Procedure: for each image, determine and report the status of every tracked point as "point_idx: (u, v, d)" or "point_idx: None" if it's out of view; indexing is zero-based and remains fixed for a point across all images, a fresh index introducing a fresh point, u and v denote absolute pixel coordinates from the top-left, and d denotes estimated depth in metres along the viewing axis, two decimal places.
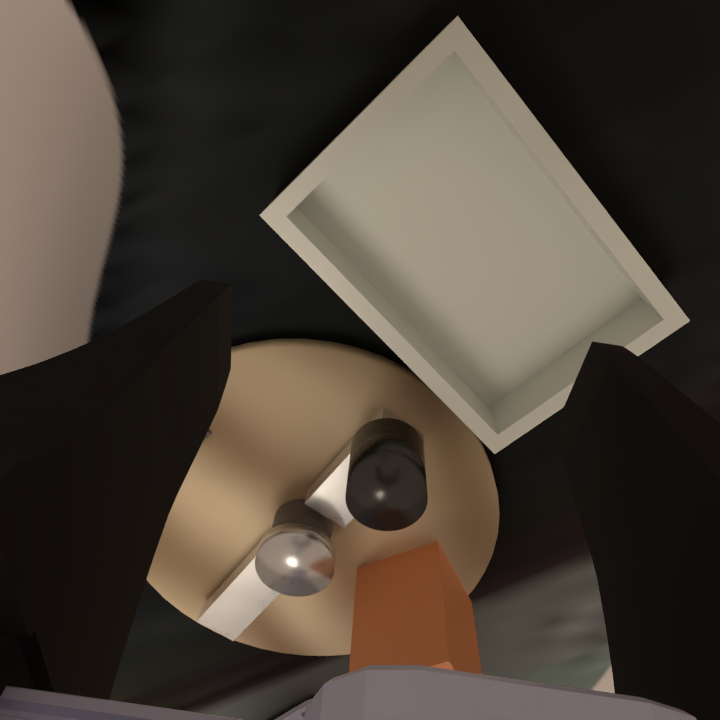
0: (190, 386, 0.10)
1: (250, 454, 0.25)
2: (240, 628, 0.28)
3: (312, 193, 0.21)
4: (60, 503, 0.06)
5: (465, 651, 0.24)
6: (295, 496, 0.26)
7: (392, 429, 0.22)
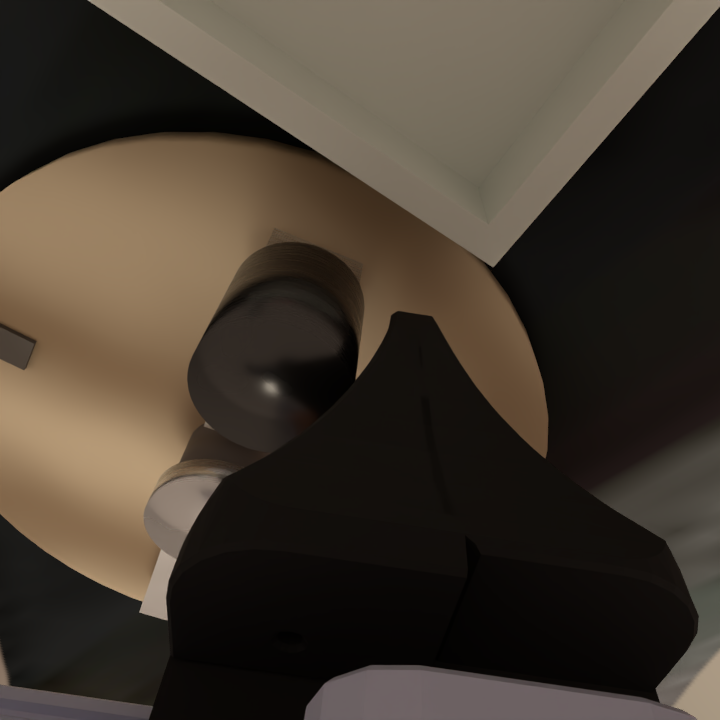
0: None
1: (110, 364, 0.15)
2: None
3: None
4: None
5: None
6: None
7: (276, 259, 0.11)
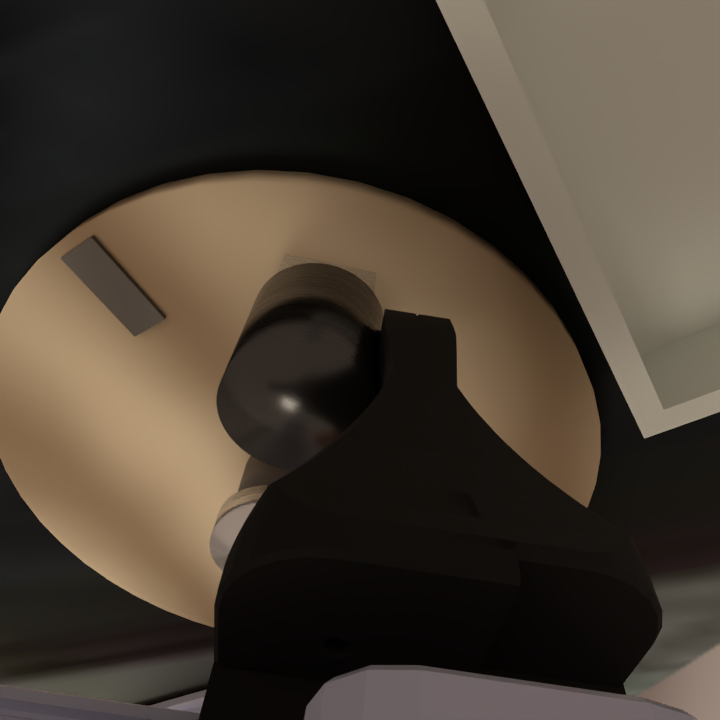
0: None
1: (226, 364, 0.15)
2: None
3: None
4: None
5: None
6: None
7: (287, 283, 0.12)
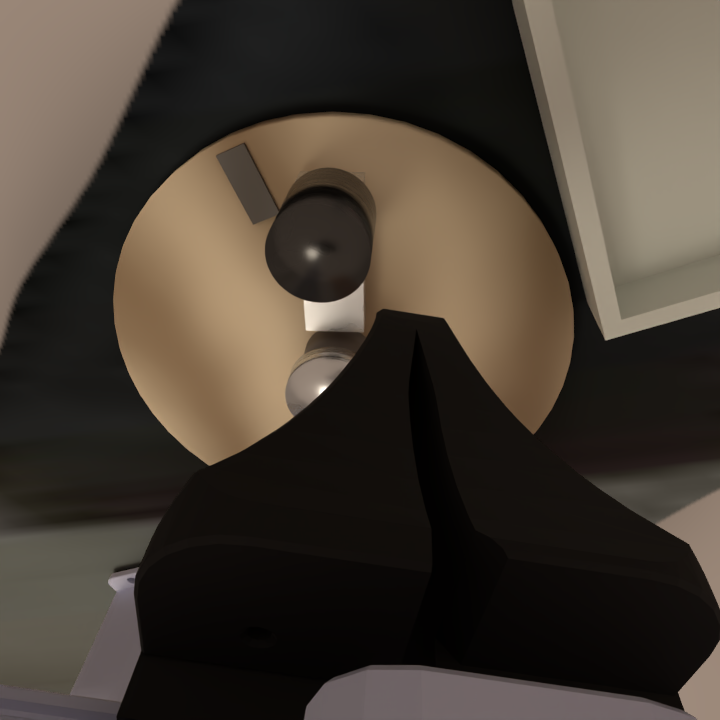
0: None
1: None
2: None
3: None
4: None
5: None
6: None
7: (301, 182, 0.17)
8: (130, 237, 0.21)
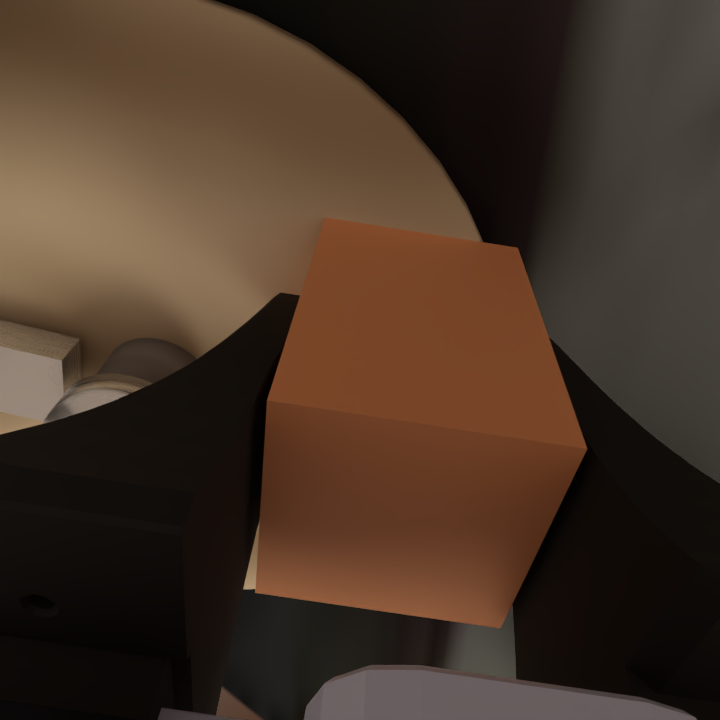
0: None
1: None
2: None
3: None
4: (212, 526, 0.06)
5: (430, 340, 0.09)
6: (101, 360, 0.15)
7: None
8: None
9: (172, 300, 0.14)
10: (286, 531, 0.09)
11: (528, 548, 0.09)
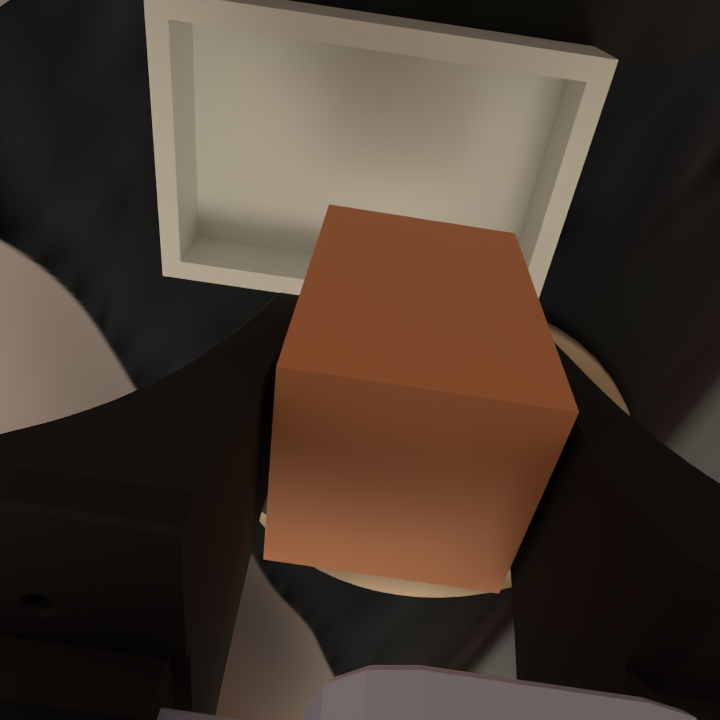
0: None
1: None
2: None
3: (202, 219, 0.20)
4: (212, 526, 0.06)
5: (430, 315, 0.09)
6: None
7: None
8: None
9: None
10: (294, 495, 0.09)
11: (524, 512, 0.09)
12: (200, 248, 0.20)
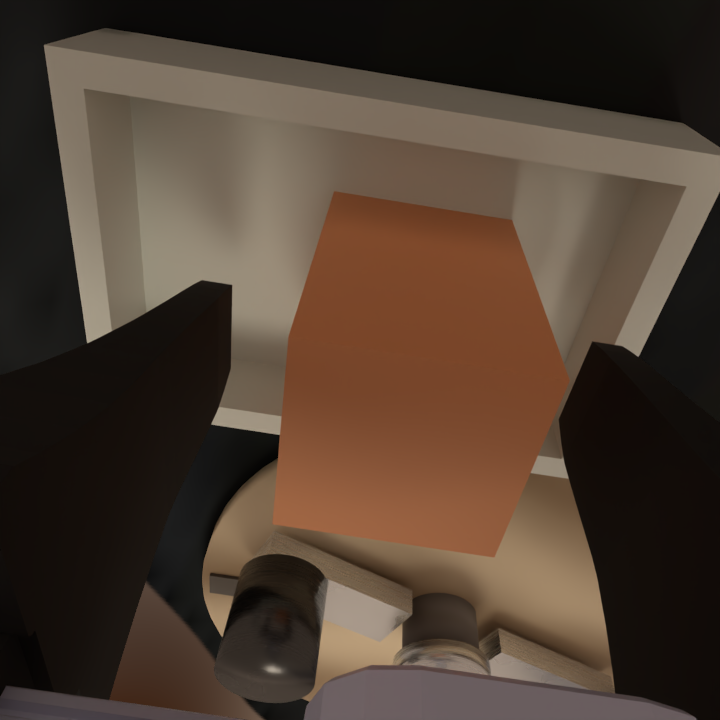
0: (190, 386, 0.10)
1: None
2: None
3: None
4: (60, 503, 0.06)
5: (431, 293, 0.10)
6: None
7: None
8: None
9: (485, 582, 0.20)
10: (303, 462, 0.10)
11: (518, 477, 0.10)
12: None
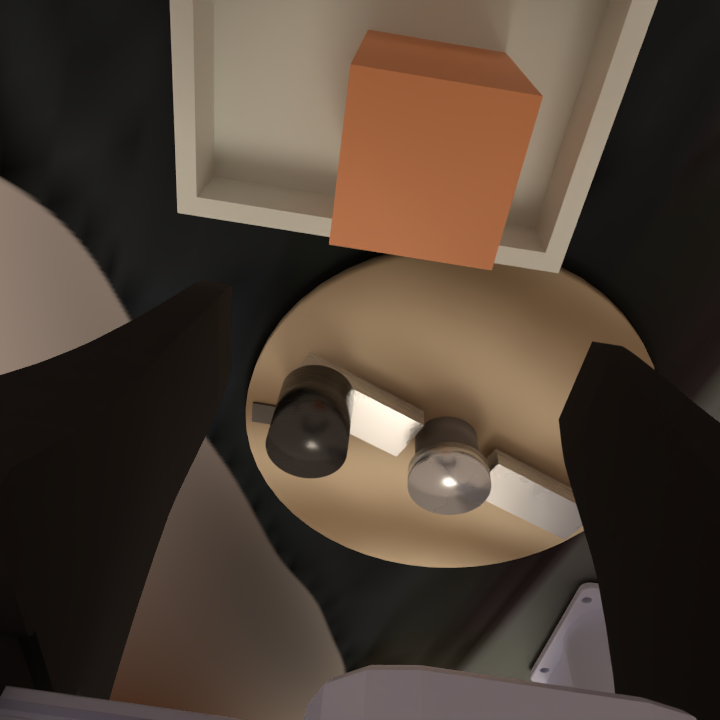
0: (190, 386, 0.10)
1: None
2: None
3: (218, 156, 0.20)
4: (60, 503, 0.06)
5: (446, 65, 0.14)
6: None
7: None
8: (276, 492, 0.28)
9: (485, 404, 0.24)
10: (354, 181, 0.14)
11: (508, 188, 0.14)
12: (216, 186, 0.19)
